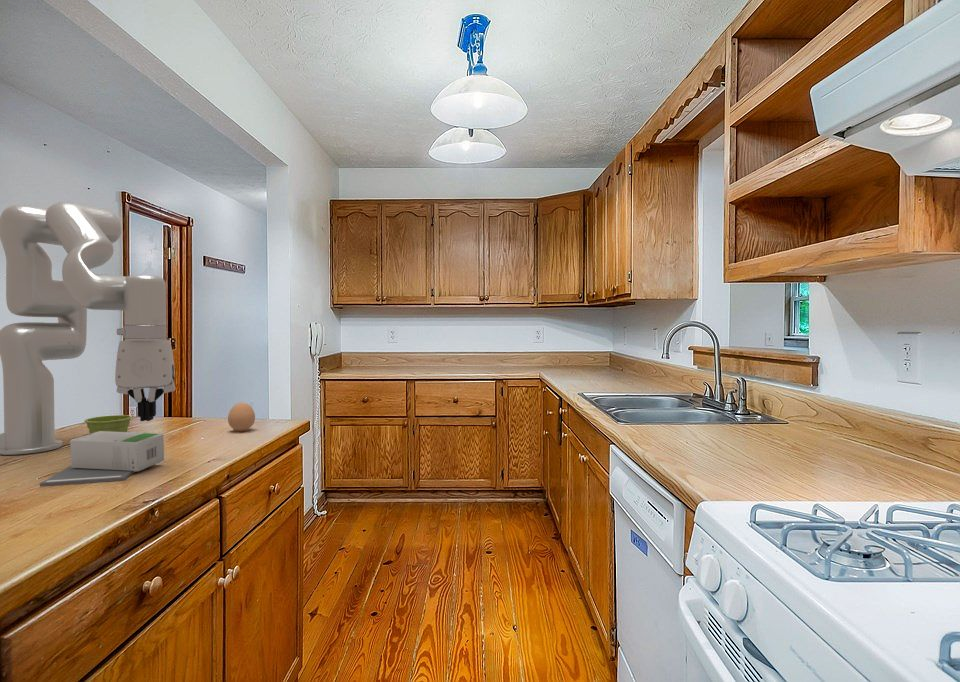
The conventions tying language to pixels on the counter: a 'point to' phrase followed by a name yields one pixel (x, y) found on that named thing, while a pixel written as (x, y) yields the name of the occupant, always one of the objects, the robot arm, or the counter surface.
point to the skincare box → (117, 450)
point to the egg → (241, 417)
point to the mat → (85, 476)
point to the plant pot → (108, 423)
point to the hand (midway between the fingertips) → (147, 419)
